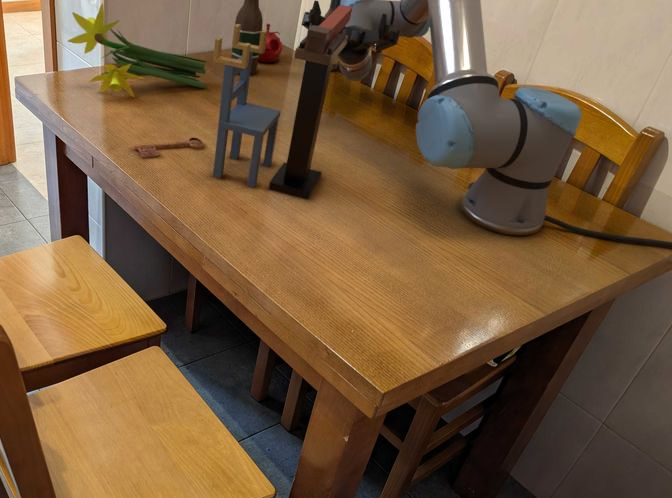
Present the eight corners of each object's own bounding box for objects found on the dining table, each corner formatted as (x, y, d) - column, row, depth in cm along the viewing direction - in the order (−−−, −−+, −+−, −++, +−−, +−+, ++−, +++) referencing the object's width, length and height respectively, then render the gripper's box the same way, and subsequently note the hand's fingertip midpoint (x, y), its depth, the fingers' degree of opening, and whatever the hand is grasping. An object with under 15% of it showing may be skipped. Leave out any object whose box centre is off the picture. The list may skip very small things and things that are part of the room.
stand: (285, 165, 134) (311, 23, 116) (322, 174, 132) (355, 31, 114) (265, 193, 124) (290, 42, 106) (305, 204, 122) (338, 52, 104)
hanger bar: (335, 18, 123) (339, -1, 121) (351, 21, 122) (355, 2, 120) (304, 50, 106) (307, 29, 104) (322, 54, 105) (327, 33, 103)
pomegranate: (241, 60, 182) (246, 25, 176) (250, 51, 189) (255, 16, 183) (275, 67, 180) (281, 31, 174) (283, 57, 188) (288, 23, 182)
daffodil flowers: (218, 104, 158) (86, 75, 138) (185, 115, 170) (59, 91, 150) (219, 31, 156) (85, -8, 136) (186, 48, 168) (58, 15, 148)
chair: (222, 151, 136) (237, 23, 119) (271, 164, 134) (293, 35, 117) (201, 174, 127) (214, 39, 111) (254, 188, 125) (275, 52, 108)
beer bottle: (251, 65, 180) (264, -33, 164) (261, 75, 174) (275, -25, 158) (224, 66, 177) (235, -34, 162) (234, 76, 172) (246, -26, 156)
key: (139, 159, 130) (208, 153, 135) (139, 155, 129) (209, 149, 134) (131, 145, 134) (198, 139, 139) (131, 141, 133) (199, 135, 138)
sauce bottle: (341, 70, 184) (358, -7, 171) (325, 72, 181) (341, -6, 168) (326, 63, 188) (341, -14, 175) (309, 65, 185) (324, -13, 172)
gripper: (402, 76, 144) (405, 47, 124) (295, 54, 150) (281, 22, 129) (413, 41, 143) (418, 6, 122) (305, 20, 148) (292, -18, 128)
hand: (348, 14), depth 126 cm, fingers open, 13 cm apart
